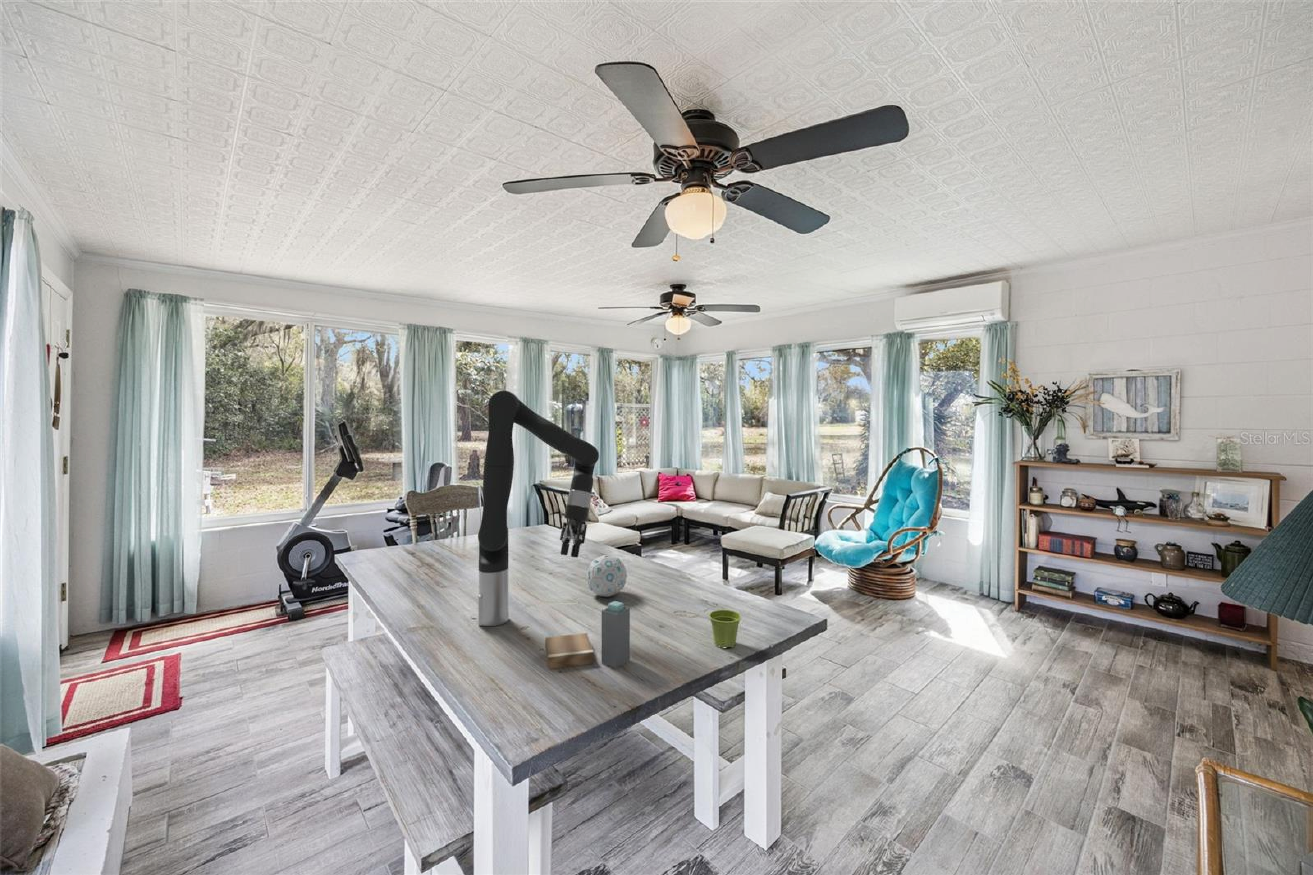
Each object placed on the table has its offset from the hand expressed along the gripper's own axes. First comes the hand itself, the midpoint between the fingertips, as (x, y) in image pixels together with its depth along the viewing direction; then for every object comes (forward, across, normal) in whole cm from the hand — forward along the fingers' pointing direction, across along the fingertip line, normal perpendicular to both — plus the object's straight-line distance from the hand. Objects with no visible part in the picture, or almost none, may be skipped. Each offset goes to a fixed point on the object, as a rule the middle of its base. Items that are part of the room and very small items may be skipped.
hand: (568, 556), depth 163 cm
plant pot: (+18, +33, +40) cm, 55 cm away
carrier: (+25, +26, +8) cm, 37 cm away
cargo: (+13, +28, +5) cm, 31 cm away
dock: (+26, +16, -1) cm, 31 cm away
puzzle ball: (+13, -22, +28) cm, 38 cm away
